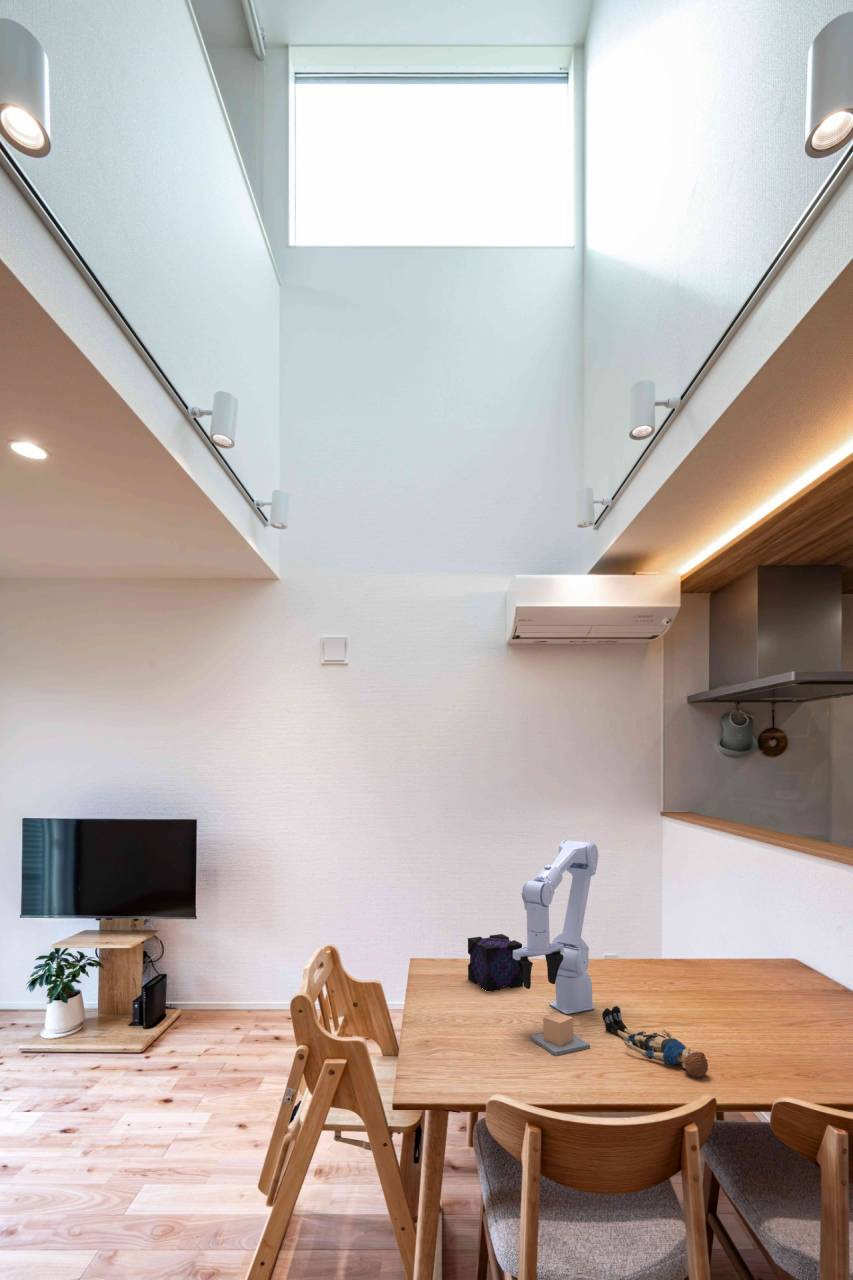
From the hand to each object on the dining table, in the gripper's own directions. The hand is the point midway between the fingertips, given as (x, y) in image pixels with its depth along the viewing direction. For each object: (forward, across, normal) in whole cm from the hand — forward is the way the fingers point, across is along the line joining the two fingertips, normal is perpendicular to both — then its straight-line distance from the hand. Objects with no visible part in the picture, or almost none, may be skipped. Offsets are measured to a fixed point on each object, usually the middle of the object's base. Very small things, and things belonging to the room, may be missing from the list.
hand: (539, 985), depth 181 cm
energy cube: (+10, -7, -33) cm, 35 cm away
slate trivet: (+10, +2, +11) cm, 15 cm away
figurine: (+10, -15, +24) cm, 30 cm away
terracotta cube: (+9, +2, +10) cm, 14 cm away
